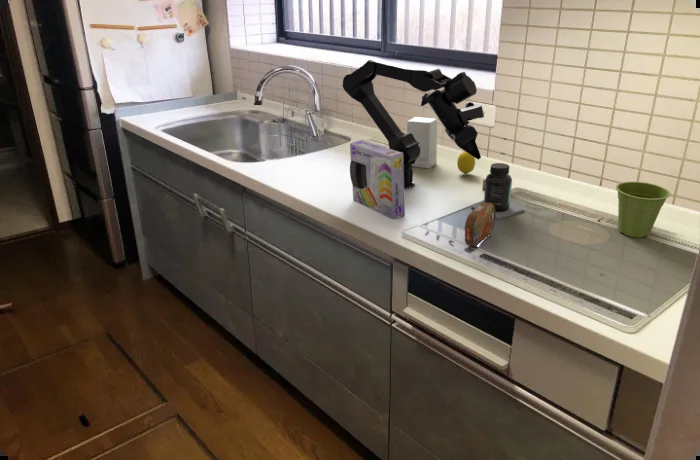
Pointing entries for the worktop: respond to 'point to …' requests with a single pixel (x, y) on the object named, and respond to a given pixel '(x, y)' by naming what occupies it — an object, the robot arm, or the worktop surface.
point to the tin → (480, 223)
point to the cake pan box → (377, 178)
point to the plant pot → (639, 207)
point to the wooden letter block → (484, 184)
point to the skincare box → (424, 140)
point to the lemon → (466, 162)
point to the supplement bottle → (498, 187)
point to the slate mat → (509, 212)
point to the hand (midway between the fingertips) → (476, 155)
